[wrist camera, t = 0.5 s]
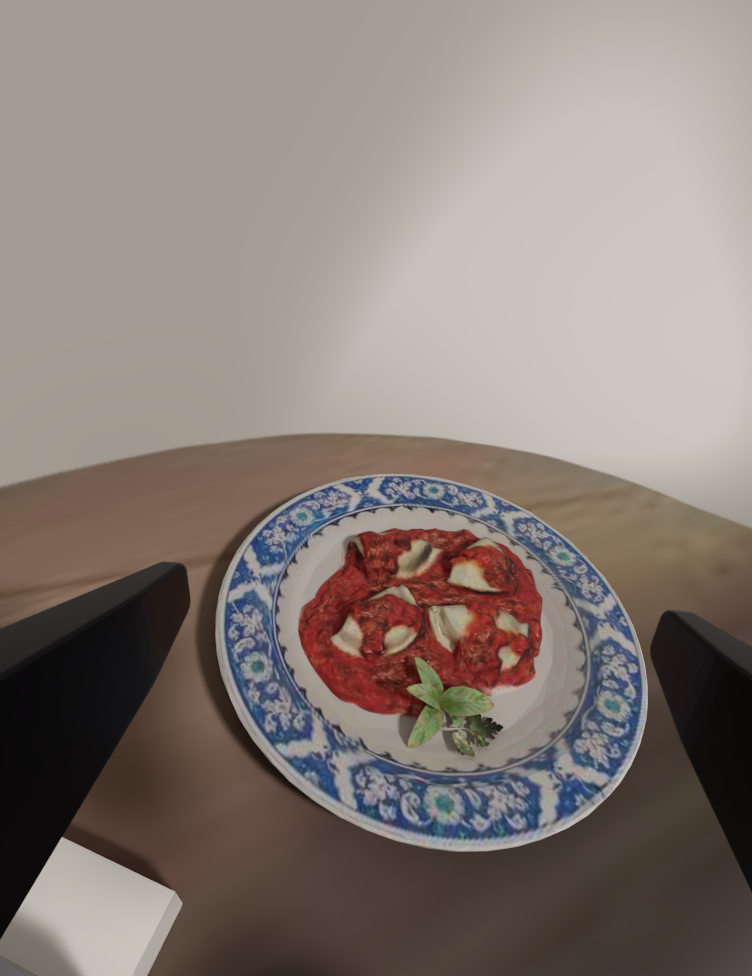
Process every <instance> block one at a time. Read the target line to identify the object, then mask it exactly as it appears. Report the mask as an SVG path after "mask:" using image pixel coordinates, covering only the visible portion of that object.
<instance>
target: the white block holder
mask: <svg viewBox="0 0 752 976" xmlns="http://www.w3.org/2000/svg"><path fill="white" fill-rule="evenodd" d="M182 905H183V903H182V902H181V900H180V899H179V897H178V896H177V894H176V892H175V891H173V890H171V889H169V888H167V887H164V886H162V885H160V884H158V883H156V882H154V881H152V880H150V879H148V878H146V877H144V876H142V875H140V874H138V873H135V872H133V871H131V870H129V869H127V868H125V867H123V866H121V865H119V864H117V863H115V862H113V861H111V860H109V859H106V858H104V857H102V856H100V855H98V854H96V853H94V852H92V851H90V850H88V849H86V848H84V847H82V846H80V845H77V844H75V843H73V842H71V841H69V840H67V839H65V838H63V837H62V838H61V839H60V841H59V843H58V844H57V846H56V848H55V849H54V851H53V853H52V854H51V856H50V858H49V859H48V861H47V863H46V864H45V866H44V868H43V869H42V871H41V873H40V874H39V876H38V878H37V879H36V881H35V883H34V884H33V886H32V888H31V889H30V891H29V893H28V894H27V896H26V898H25V899H24V901H23V903H22V904H21V906H20V908H19V909H18V911H17V913H16V914H15V916H14V918H13V919H12V921H11V923H10V924H9V926H8V928H7V929H6V931H5V933H4V934H3V936H2V938H1V940H0V976H147V975H148V973H149V971H150V969H151V967H152V965H153V963H154V961H155V959H156V957H157V955H158V953H159V951H160V949H161V947H162V945H163V943H164V941H165V939H166V937H167V935H168V933H169V931H170V929H171V927H172V925H173V923H174V921H175V919H176V917H177V915H178V913H179V911H180V909H181V907H182Z"/></svg>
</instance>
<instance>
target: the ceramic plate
mask: <svg viewBox="0 0 752 976" xmlns="http://www.w3.org/2000/svg"><path fill="white" fill-rule="evenodd" d="M215 638H216V650H217V657H218V661H219V666H220V671H221V675H222V678H223V682H224V685H225V687H226V690H227V692H228V695H229V697H230V699H231V701H232V704H233V706H234V708H235V710H236V712H237V715H238V717H239V719H240V720H241V722H242V724H243V725H244V727H245V728H246V730H247V732H248V733H249V735H250V736H251V738H252V740H253V741H254V742H255V744H256V745H257V746H258V747H259V749H260V750H261V751H262V752H263V754H264V755H265V756H266V757H267V759H268V760H269V761H270V762H271V763H272V764H273V765H274V766H275V767H276V768H277V769H278V770H279V771H280V772H281V773H282V774H283V775H284V776H285V777H286V778H287V779H288V780H289V781H290V782H291V783H292V784H293V785H294V786H296V787H297V788H298V789H299V790H301V791H302V792H303V793H304V794H306V795H307V796H308V797H309V798H311V799H312V800H313V801H315V802H316V803H318V804H319V805H321V806H322V807H324V808H326V809H327V810H329V811H330V812H332V813H333V814H335V815H337V816H338V817H340V818H342V819H344V820H346V821H348V822H350V823H352V824H354V825H356V826H358V827H360V828H362V829H364V830H366V831H369V832H372V833H375V834H377V835H380V836H383V837H386V838H389V839H391V840H394V841H398V842H402V843H406V844H410V845H415V846H419V847H423V848H429V849H438V850H447V851H456V852H462V851H491V850H498V849H505V848H512V847H517V846H521V845H524V844H528V843H531V842H535V841H538V840H541V839H544V838H546V837H548V836H550V835H553V834H555V833H558V832H560V831H562V830H565V829H567V828H569V827H570V826H572V825H573V824H575V823H576V822H578V821H580V820H581V819H583V818H584V817H586V816H587V815H589V814H590V813H591V812H592V811H593V810H594V809H596V808H597V807H598V806H599V805H600V804H601V803H602V802H603V801H604V800H605V799H606V798H607V797H608V796H609V795H610V794H611V793H612V792H613V791H614V789H615V788H616V787H617V786H618V785H619V783H620V782H621V781H622V779H623V777H624V776H625V774H626V773H627V771H628V769H629V768H630V766H631V764H632V762H633V760H634V758H635V755H636V753H637V750H638V748H639V746H640V743H641V738H642V734H643V730H644V726H645V722H646V716H647V705H648V696H647V678H646V670H645V664H644V660H643V656H642V651H641V647H640V644H639V641H638V639H637V636H636V633H635V630H634V627H633V625H632V623H631V621H630V619H629V617H628V615H627V613H626V611H625V609H624V607H623V606H622V604H621V602H620V600H619V598H618V597H617V595H616V594H615V592H614V591H613V589H612V588H611V586H610V585H609V583H608V582H607V580H606V579H605V578H604V576H603V575H602V574H601V573H600V572H599V571H598V569H597V568H596V567H595V566H594V565H593V564H592V563H591V562H590V561H589V559H588V558H587V557H586V556H585V555H584V554H583V553H582V552H581V551H580V550H579V549H578V548H577V547H576V546H575V545H574V544H573V543H572V542H571V541H569V540H568V539H567V538H566V537H564V536H563V535H562V534H560V533H559V532H558V531H556V530H555V529H554V528H552V527H551V526H550V525H548V524H547V523H545V522H544V521H543V520H541V519H540V518H538V517H537V516H535V515H534V514H532V513H531V512H529V511H527V510H525V509H523V508H521V507H519V506H517V505H515V504H513V503H511V502H509V501H507V500H505V499H503V498H501V497H499V496H497V495H494V494H492V493H490V492H488V491H484V490H481V489H478V488H475V487H472V486H469V485H465V484H462V483H458V482H454V481H450V480H446V479H441V478H436V477H428V476H421V475H412V474H376V475H366V476H358V477H352V478H346V479H342V480H338V481H335V482H331V483H328V484H325V485H322V486H319V487H316V488H314V489H312V490H309V491H307V492H305V493H303V494H301V495H299V496H297V497H295V498H293V499H291V500H290V501H288V502H286V503H285V504H283V505H282V506H280V507H279V508H277V509H276V510H275V511H273V512H272V513H271V514H269V515H268V516H267V517H266V518H265V519H264V520H263V521H261V522H260V523H259V524H258V525H257V526H256V527H255V528H254V530H253V531H252V532H251V533H250V534H249V535H248V536H247V537H246V539H245V540H244V542H243V543H242V544H241V546H240V547H239V549H238V550H237V552H236V554H235V555H234V557H233V559H232V561H231V563H230V565H229V567H228V569H227V572H226V574H225V577H224V579H223V582H222V586H221V589H220V593H219V597H218V603H217V609H216V630H215Z"/></svg>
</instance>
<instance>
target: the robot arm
mask: <svg viewBox="0 0 752 976" xmlns="http://www.w3.org/2000/svg"><path fill="white" fill-rule="evenodd" d="M189 607H190V591H189V584H188V576H187V570H186V567H185V566H184V565H183V564H182V563H174V562H160V563H158V564H155V565H153V566H150V567H148V568H146V569H143V570H141V571H138V572H136V573H134V574H131V575H129V576H126V577H124V578H121V579H119V580H117V581H114V582H112V583H109V584H107V585H105V586H102V587H100V588H97V589H95V590H93V591H90V592H88V593H85V594H83V595H80V596H78V597H76V598H73V599H71V600H68V601H66V602H64V603H61V604H59V605H56V606H54V607H52V608H49V609H47V610H44V611H42V612H39V613H37V614H35V615H32V616H30V617H27V618H25V619H23V620H20V621H18V622H15V623H13V624H11V625H8V626H6V627H3V628H1V629H0V940H1V938H2V936H3V934H4V933H5V931H6V929H7V928H8V926H9V924H10V923H11V921H12V919H13V918H14V916H15V914H16V913H17V911H18V909H19V908H20V906H21V904H22V903H23V901H24V899H25V898H26V896H27V894H28V893H29V891H30V889H31V888H32V886H33V884H34V883H35V881H36V879H37V878H38V876H39V874H40V873H41V871H42V869H43V868H44V866H45V864H46V863H47V861H48V859H49V858H50V856H51V854H52V853H53V851H54V849H55V848H56V846H57V844H58V843H59V841H60V839H61V838H62V836H63V834H64V833H65V831H66V829H67V828H68V826H69V824H70V823H71V821H72V819H73V818H74V816H75V814H76V813H77V811H78V809H79V808H80V806H81V804H82V803H83V801H84V799H85V798H86V796H87V794H88V793H89V791H90V789H91V788H92V786H93V784H94V783H95V781H96V779H97V778H98V776H99V774H100V773H101V771H102V769H103V768H104V766H105V764H106V763H107V761H108V759H109V758H110V756H111V754H112V753H113V751H114V749H115V748H116V746H117V744H118V743H119V741H120V739H121V738H122V736H123V734H124V733H125V731H126V729H127V728H128V726H129V724H130V723H131V721H132V719H133V718H134V716H135V714H136V713H137V711H138V709H139V708H140V706H141V704H142V703H143V701H144V699H145V698H146V696H147V694H148V693H149V691H150V689H151V687H152V686H153V684H154V682H155V680H156V678H157V676H158V674H159V672H160V670H161V668H162V666H163V664H164V662H165V660H166V658H167V656H168V653H169V651H170V649H171V647H172V645H173V643H174V641H175V638H176V636H177V634H178V632H179V630H180V628H181V625H182V623H183V621H184V619H185V617H186V615H187V613H188V610H189ZM650 654H651V659H652V662H653V665H654V668H655V671H656V674H657V676H658V679H659V682H660V685H661V688H662V690H663V693H664V696H665V699H666V702H667V705H668V707H669V710H670V713H671V716H672V719H673V722H674V724H675V727H676V730H677V732H678V735H679V737H680V740H681V742H682V744H683V747H684V749H685V751H686V753H687V756H688V758H689V760H690V762H691V764H692V766H693V768H694V771H695V773H696V775H697V777H698V779H699V781H700V783H701V785H702V788H703V790H704V792H705V794H706V796H707V798H708V800H709V802H710V804H711V807H712V809H713V811H714V813H715V815H716V817H717V819H718V821H719V824H720V826H721V828H722V830H723V832H724V834H725V836H726V838H727V841H728V843H729V845H730V847H731V849H732V851H733V853H734V855H735V858H736V860H737V862H738V864H739V866H740V868H741V870H742V872H743V875H744V877H745V879H746V881H747V883H748V885H749V887H750V889H751V892H752V646H751V645H749V644H747V643H745V642H744V641H742V640H740V639H738V638H737V637H735V636H733V635H731V634H730V633H728V632H726V631H724V630H722V629H721V628H719V627H717V626H715V625H714V624H712V623H710V622H708V621H706V620H705V619H703V618H701V617H699V616H698V615H696V614H694V613H692V612H688V611H678V610H667V611H665V612H664V613H663V614H662V616H661V618H660V620H659V623H658V626H657V629H656V632H655V634H654V637H653V640H652V643H651V647H650Z"/></svg>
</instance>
